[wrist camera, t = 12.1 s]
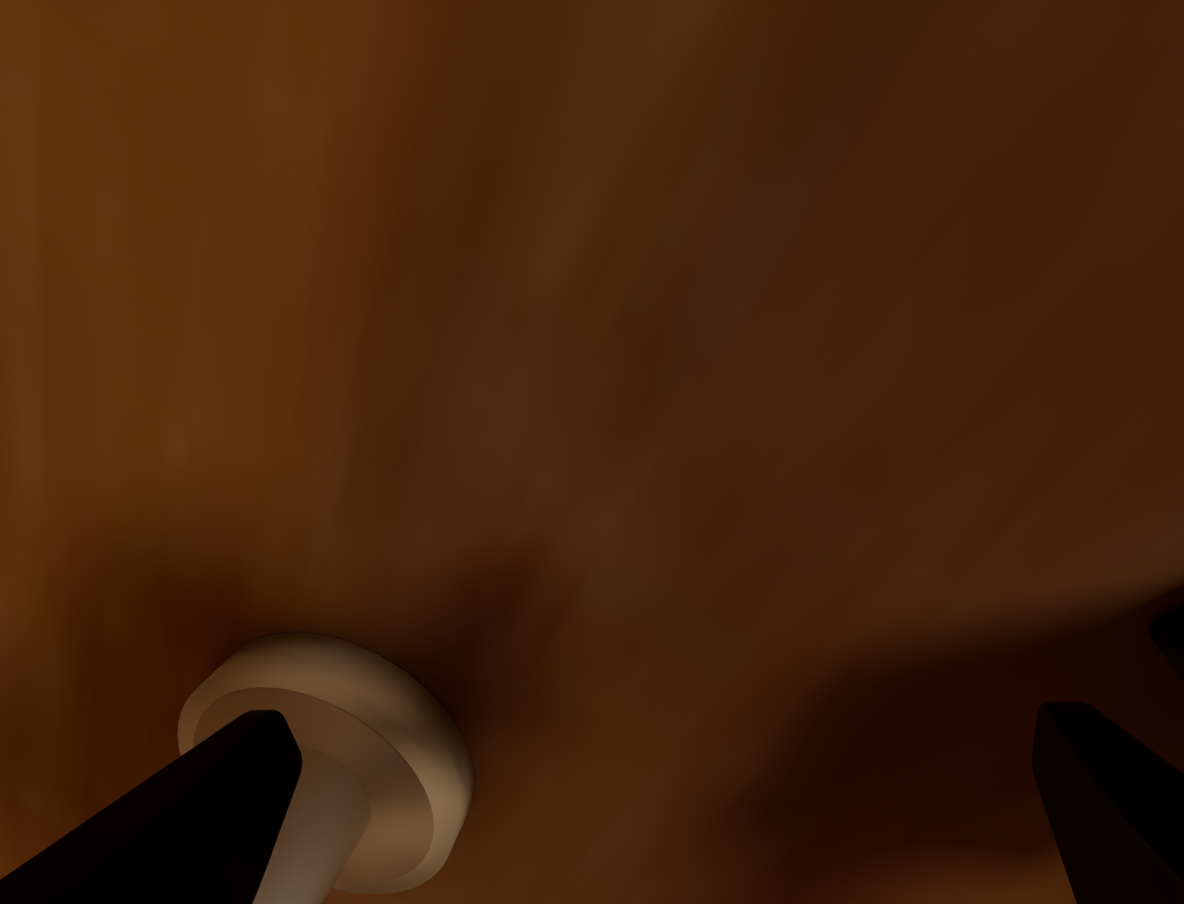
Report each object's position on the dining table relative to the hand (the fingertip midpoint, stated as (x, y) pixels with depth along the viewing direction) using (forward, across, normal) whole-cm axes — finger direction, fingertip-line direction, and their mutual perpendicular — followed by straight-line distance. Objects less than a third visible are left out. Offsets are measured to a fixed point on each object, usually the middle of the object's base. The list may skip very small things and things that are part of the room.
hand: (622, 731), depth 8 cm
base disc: (+13, +16, +15) cm, 26 cm away
